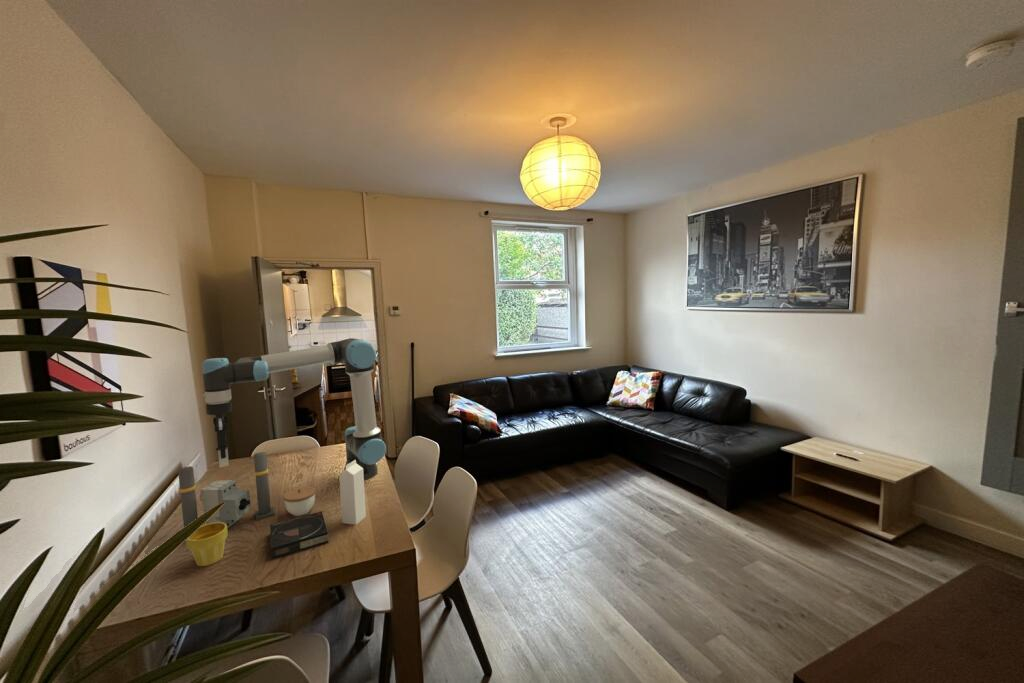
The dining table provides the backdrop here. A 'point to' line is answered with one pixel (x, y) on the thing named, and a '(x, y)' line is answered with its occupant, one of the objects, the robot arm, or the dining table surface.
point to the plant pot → (208, 543)
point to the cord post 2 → (262, 487)
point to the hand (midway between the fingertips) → (224, 465)
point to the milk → (352, 494)
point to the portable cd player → (297, 534)
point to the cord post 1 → (187, 494)
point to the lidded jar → (299, 500)
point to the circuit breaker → (228, 493)
